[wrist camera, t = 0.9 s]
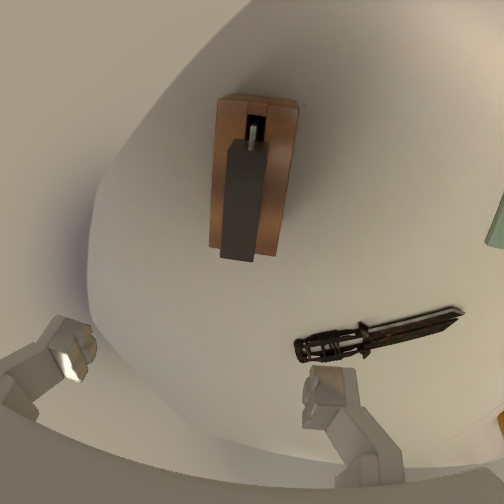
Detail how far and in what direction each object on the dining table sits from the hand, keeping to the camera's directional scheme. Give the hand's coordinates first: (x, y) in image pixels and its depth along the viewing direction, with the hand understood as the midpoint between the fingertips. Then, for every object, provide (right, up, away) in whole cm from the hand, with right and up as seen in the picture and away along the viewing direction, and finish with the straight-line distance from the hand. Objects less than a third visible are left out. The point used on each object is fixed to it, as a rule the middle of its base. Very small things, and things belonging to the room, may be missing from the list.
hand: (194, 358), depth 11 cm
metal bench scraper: (+2, +12, +18) cm, 22 cm away
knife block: (+2, +12, +19) cm, 23 cm away
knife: (+20, -7, +30) cm, 37 cm away
